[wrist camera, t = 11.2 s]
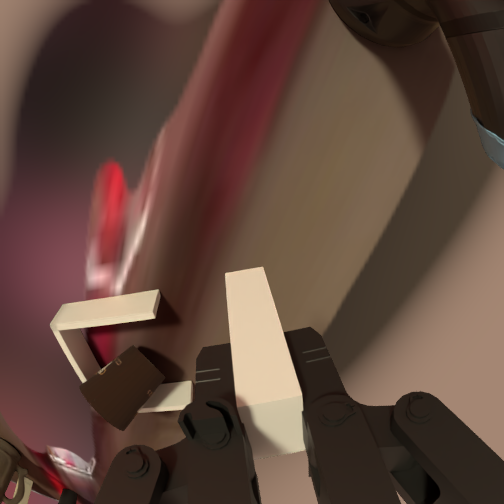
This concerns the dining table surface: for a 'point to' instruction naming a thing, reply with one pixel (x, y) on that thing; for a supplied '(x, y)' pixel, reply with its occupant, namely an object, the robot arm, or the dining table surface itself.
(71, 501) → the drinking cup
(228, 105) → the dining table surface
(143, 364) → the dark brown mug
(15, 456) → the beer stein
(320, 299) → the dining table surface
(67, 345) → the cream u-shaped bracket
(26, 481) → the skincare box
